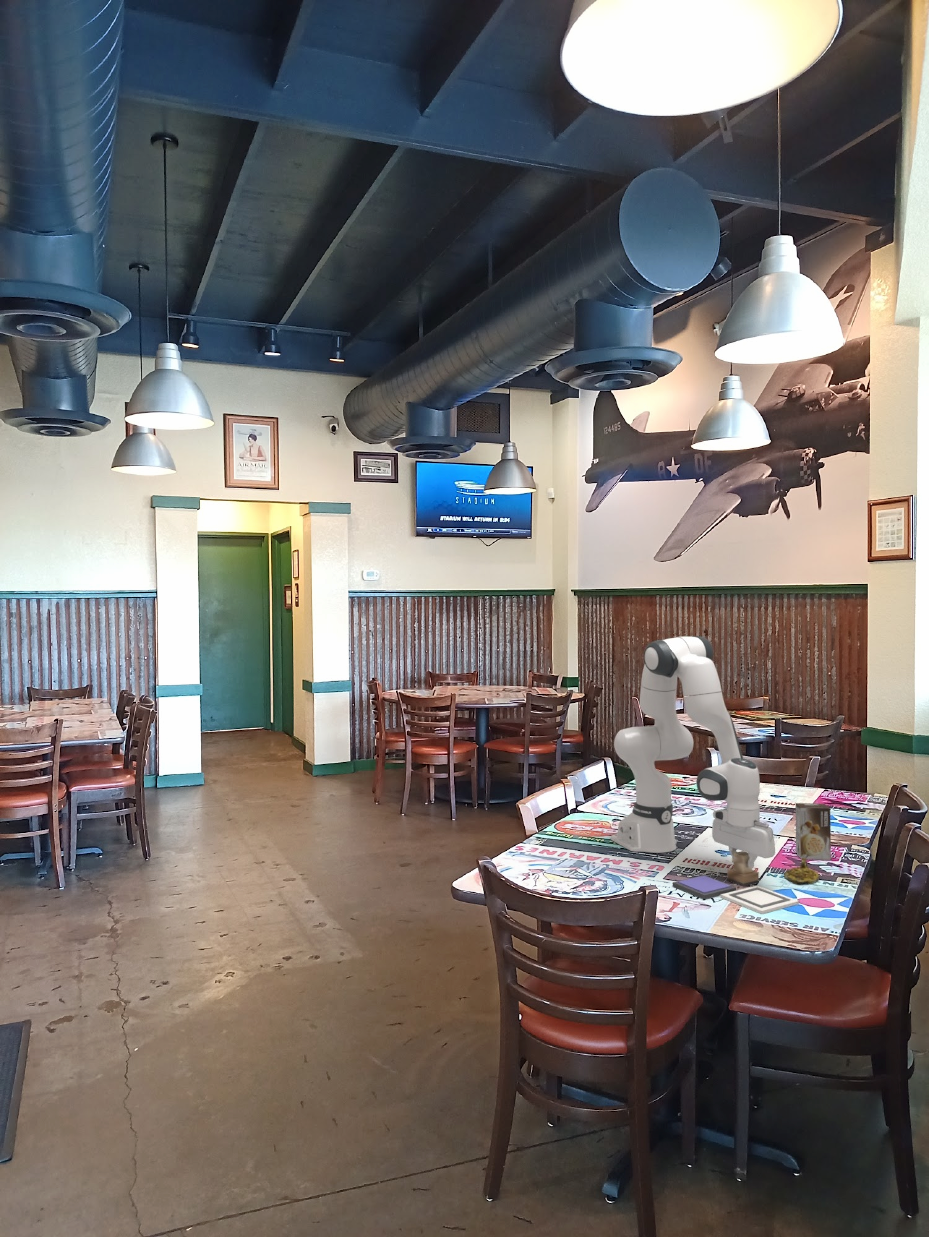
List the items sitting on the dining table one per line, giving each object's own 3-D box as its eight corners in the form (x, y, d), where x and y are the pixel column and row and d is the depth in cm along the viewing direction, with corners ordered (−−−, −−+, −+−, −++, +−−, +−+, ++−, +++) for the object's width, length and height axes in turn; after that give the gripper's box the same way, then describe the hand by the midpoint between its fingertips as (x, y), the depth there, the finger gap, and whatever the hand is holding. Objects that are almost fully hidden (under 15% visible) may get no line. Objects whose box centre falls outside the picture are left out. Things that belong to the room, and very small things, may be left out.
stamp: (727, 880, 248) (727, 852, 248) (742, 876, 251) (742, 849, 251) (743, 886, 243) (743, 858, 243) (758, 882, 246) (758, 854, 246)
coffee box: (825, 854, 272) (825, 803, 271) (831, 860, 265) (831, 808, 265) (794, 853, 273) (795, 802, 272) (799, 859, 267) (800, 807, 266)
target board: (720, 897, 234) (720, 893, 234) (757, 888, 241) (757, 884, 241) (761, 914, 222) (762, 910, 222) (799, 904, 229) (799, 900, 229)
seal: (817, 892, 242) (819, 875, 255) (819, 875, 241) (821, 860, 255) (781, 884, 246) (786, 868, 259) (783, 867, 245) (788, 852, 259)
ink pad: (672, 886, 243) (672, 881, 243) (704, 879, 249) (704, 874, 249) (704, 899, 233) (704, 894, 233) (736, 891, 239) (736, 886, 239)
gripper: (780, 823, 239) (780, 873, 239) (724, 807, 257) (724, 854, 257) (764, 827, 236) (764, 877, 236) (708, 810, 253) (708, 857, 254)
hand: (742, 865), depth 247 cm, fingers closed on stamp, 4 cm apart
